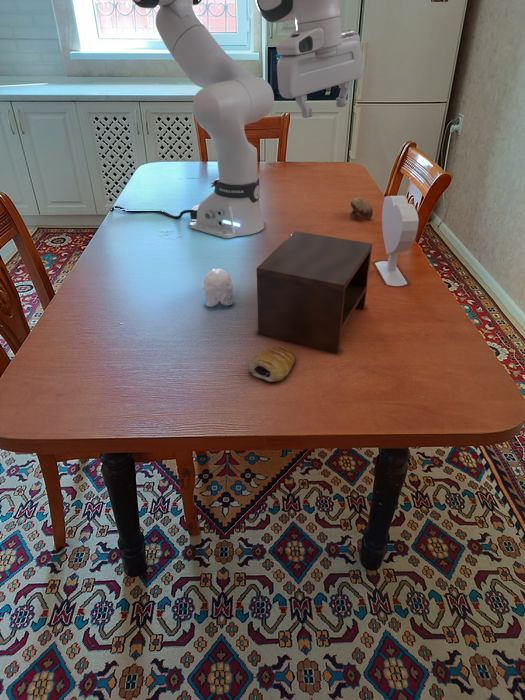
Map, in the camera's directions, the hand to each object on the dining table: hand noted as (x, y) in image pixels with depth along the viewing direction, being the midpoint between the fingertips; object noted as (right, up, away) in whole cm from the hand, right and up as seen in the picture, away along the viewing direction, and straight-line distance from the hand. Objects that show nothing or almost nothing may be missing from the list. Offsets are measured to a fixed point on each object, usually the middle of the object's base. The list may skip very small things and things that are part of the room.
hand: (324, 111), depth 106 cm
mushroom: (+17, -11, +45) cm, 50 cm away
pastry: (-12, -55, -15) cm, 59 cm away
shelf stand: (-3, -45, -2) cm, 45 cm away
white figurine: (-23, -40, +7) cm, 47 cm away
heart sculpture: (+18, -33, +15) cm, 41 cm away
